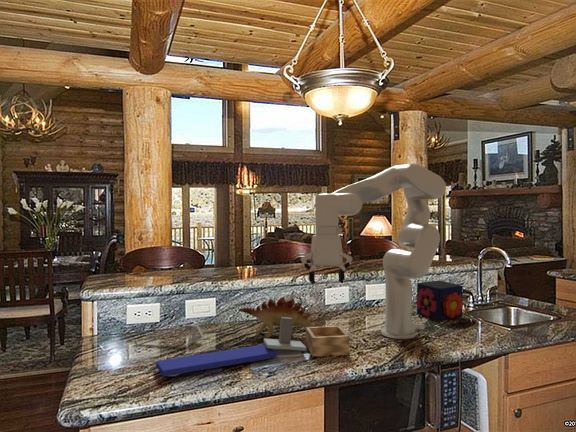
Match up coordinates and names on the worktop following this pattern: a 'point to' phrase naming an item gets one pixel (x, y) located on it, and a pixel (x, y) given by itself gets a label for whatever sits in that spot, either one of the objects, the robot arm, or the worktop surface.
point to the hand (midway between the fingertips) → (326, 282)
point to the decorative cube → (439, 300)
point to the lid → (285, 337)
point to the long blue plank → (214, 360)
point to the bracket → (189, 327)
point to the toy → (281, 315)
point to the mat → (287, 352)
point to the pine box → (327, 341)
